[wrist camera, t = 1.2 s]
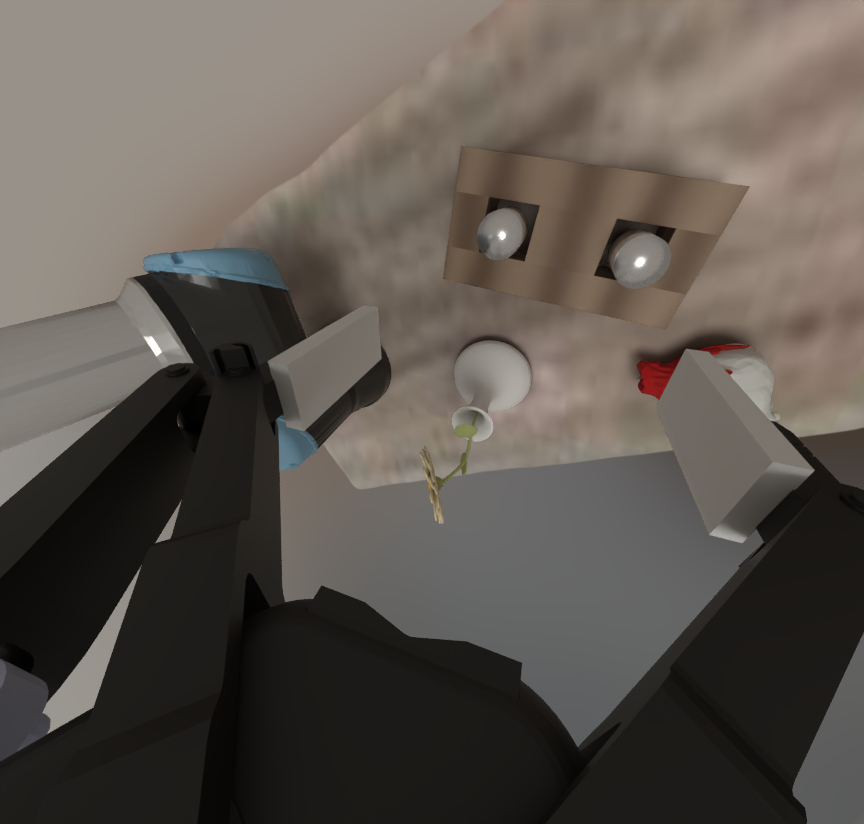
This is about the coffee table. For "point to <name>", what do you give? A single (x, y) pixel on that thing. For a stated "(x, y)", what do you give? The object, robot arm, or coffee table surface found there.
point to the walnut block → (584, 231)
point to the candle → (736, 361)
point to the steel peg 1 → (502, 233)
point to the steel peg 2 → (639, 258)
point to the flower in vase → (481, 400)
